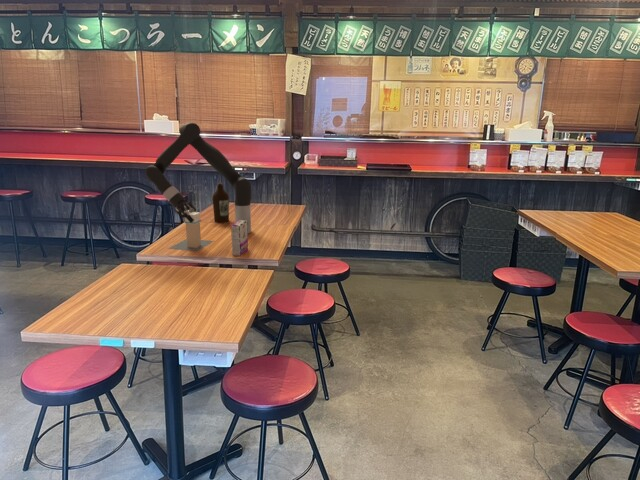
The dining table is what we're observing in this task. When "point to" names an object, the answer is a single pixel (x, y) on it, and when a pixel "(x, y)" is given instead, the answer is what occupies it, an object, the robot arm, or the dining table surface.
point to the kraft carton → (193, 235)
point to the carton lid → (195, 216)
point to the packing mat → (183, 246)
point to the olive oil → (221, 204)
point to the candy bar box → (239, 237)
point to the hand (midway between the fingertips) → (195, 220)
